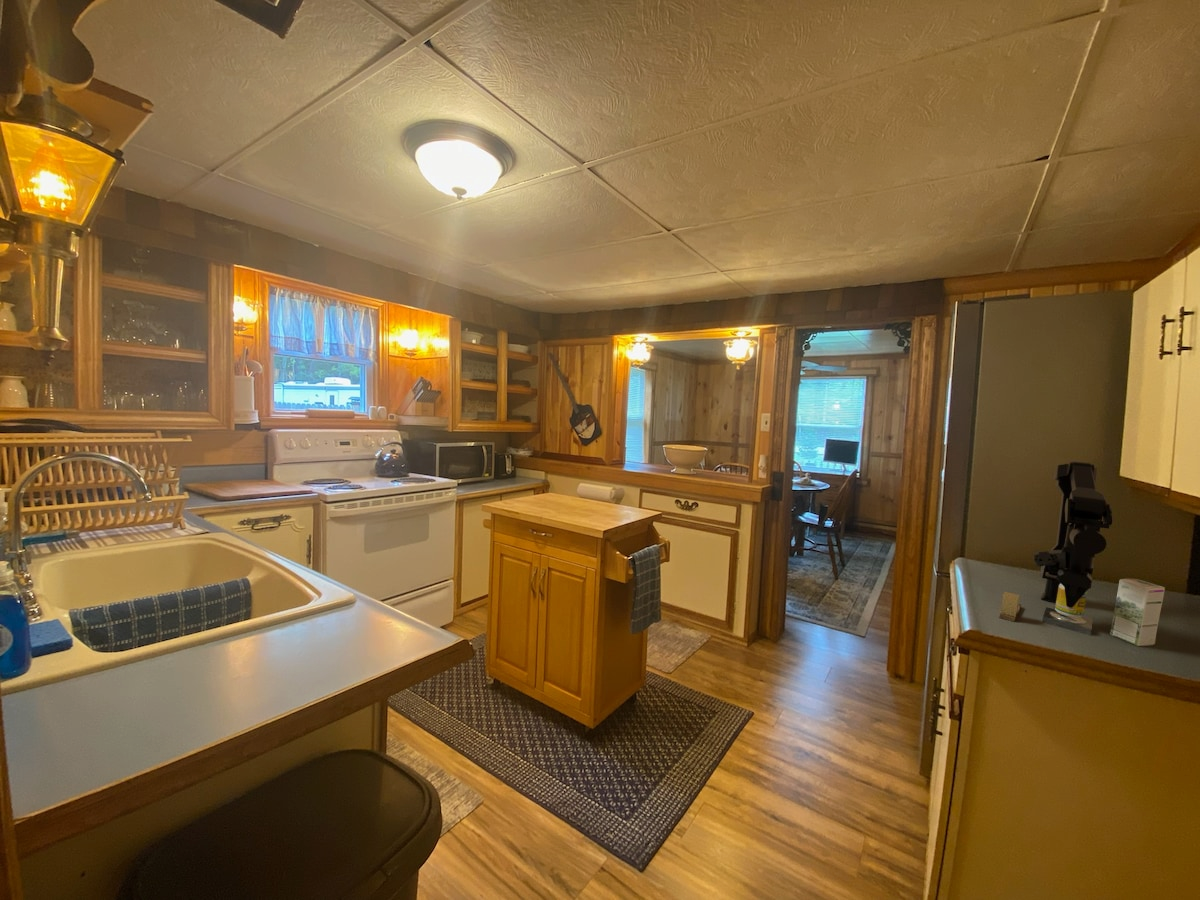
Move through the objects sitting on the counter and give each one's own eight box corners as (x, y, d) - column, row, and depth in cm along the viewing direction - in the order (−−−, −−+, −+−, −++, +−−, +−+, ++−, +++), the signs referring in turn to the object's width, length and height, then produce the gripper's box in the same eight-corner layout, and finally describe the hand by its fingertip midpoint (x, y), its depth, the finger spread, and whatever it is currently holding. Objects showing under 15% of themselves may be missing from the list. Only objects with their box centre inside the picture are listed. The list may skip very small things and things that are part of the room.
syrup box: (1155, 645, 120) (1167, 586, 119) (1137, 646, 119) (1148, 587, 117) (1126, 633, 126) (1136, 577, 124) (1108, 634, 125) (1118, 578, 123)
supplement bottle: (1058, 607, 134) (1064, 572, 133) (1085, 615, 129) (1092, 579, 128) (1051, 611, 131) (1057, 575, 130) (1079, 620, 126) (1085, 583, 125)
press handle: (1002, 609, 134) (1004, 591, 133) (1016, 613, 132) (1019, 595, 131) (1000, 612, 132) (1003, 594, 131) (1015, 616, 129) (1018, 598, 129)
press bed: (1045, 612, 137) (1046, 606, 136) (1091, 624, 130) (1092, 618, 130) (1042, 621, 130) (1043, 615, 130) (1090, 634, 124) (1091, 628, 124)
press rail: (1007, 603, 141) (1007, 600, 141) (1020, 607, 139) (1021, 604, 139) (999, 617, 131) (1000, 614, 131) (1014, 621, 129) (1014, 618, 129)
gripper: (1041, 531, 140) (1032, 585, 142) (1034, 543, 127) (1025, 603, 129) (1097, 541, 132) (1087, 598, 134) (1096, 555, 119) (1085, 618, 121)
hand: (1070, 603), depth 130 cm, fingers open, 5 cm apart
